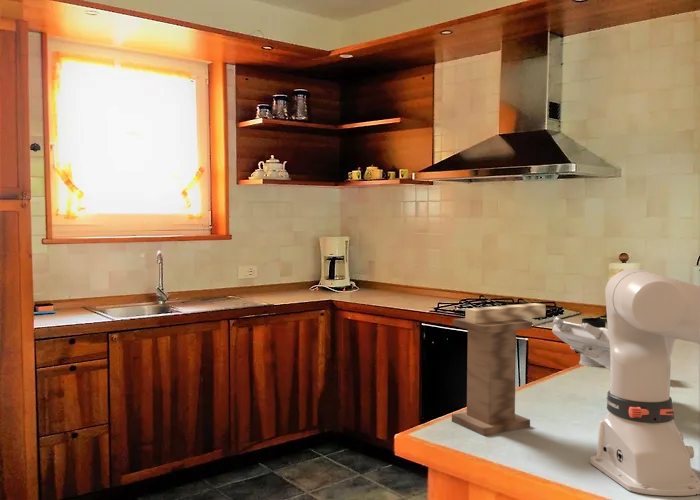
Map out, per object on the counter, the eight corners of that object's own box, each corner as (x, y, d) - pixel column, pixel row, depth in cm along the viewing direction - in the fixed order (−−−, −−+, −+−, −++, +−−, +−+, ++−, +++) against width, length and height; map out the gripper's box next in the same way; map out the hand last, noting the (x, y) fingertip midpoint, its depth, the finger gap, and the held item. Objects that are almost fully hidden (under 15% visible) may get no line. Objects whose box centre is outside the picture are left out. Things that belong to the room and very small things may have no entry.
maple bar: (535, 314, 167) (535, 303, 167) (545, 316, 164) (545, 304, 163) (465, 321, 156) (465, 308, 156) (474, 323, 153) (474, 310, 153)
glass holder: (593, 360, 229) (594, 317, 228) (624, 369, 216) (625, 323, 215) (573, 362, 226) (574, 318, 225) (603, 371, 212) (604, 325, 212)
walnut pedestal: (496, 412, 168) (497, 314, 166) (530, 426, 157) (531, 321, 156) (451, 421, 161) (452, 319, 160) (483, 435, 151) (485, 326, 149)
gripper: (630, 363, 166) (597, 340, 160) (568, 349, 185) (536, 327, 178) (639, 341, 168) (606, 317, 162) (577, 328, 186) (545, 306, 180)
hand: (569, 322), depth 170 cm, fingers open, 8 cm apart
